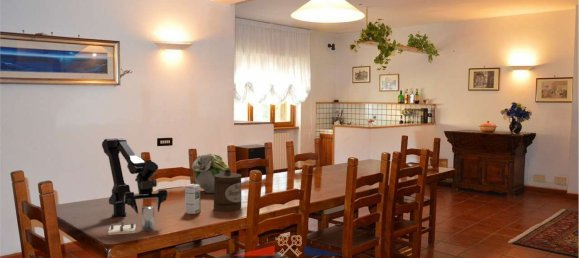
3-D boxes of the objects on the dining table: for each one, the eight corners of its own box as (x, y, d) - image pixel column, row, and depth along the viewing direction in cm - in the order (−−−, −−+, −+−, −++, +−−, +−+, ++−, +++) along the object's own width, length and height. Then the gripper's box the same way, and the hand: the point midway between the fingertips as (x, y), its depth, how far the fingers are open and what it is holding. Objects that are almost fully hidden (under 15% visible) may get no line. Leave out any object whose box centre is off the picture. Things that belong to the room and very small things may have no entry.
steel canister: (142, 228, 213) (141, 206, 213) (154, 227, 215) (153, 206, 214) (141, 231, 208) (141, 209, 208) (154, 230, 210) (154, 208, 209)
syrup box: (194, 214, 241) (194, 186, 240) (184, 213, 243) (184, 185, 242) (200, 211, 246) (200, 184, 245) (191, 210, 248) (191, 183, 247)
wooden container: (232, 212, 246) (232, 170, 244) (208, 209, 252) (208, 168, 251) (246, 206, 259) (246, 167, 258) (223, 204, 265) (223, 165, 264)
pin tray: (110, 228, 213) (110, 221, 213) (135, 226, 216) (135, 220, 216) (107, 234, 203) (107, 227, 203) (134, 233, 206) (134, 226, 206)
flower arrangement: (184, 194, 292) (184, 154, 290) (203, 187, 315) (203, 150, 314) (221, 197, 284) (221, 156, 283) (237, 189, 308) (237, 152, 307)
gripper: (124, 174, 211) (127, 204, 201) (166, 172, 219) (171, 200, 210) (122, 189, 218) (125, 218, 209) (163, 186, 226) (168, 214, 217)
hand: (148, 212), depth 211 cm, fingers open, 9 cm apart
